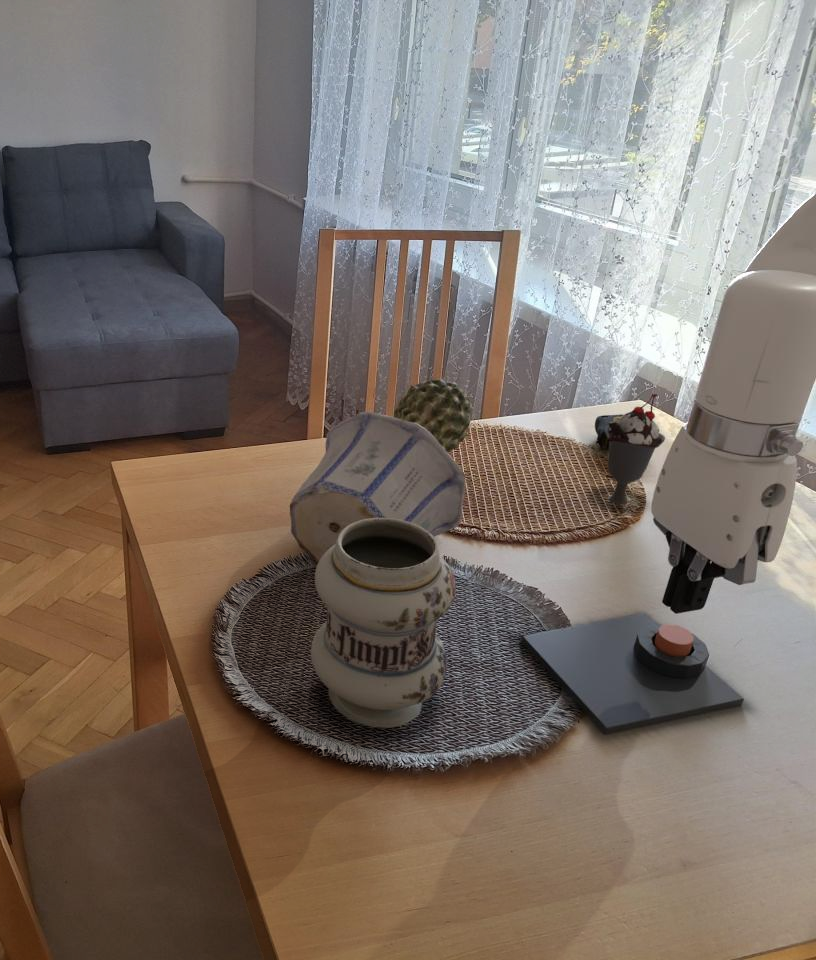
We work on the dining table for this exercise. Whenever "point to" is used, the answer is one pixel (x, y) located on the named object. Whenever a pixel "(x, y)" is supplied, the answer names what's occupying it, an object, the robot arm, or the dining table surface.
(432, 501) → the potted plant
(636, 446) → the sundae
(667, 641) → the button
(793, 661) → the dining table surface
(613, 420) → the tape measure
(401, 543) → the apothecary jar
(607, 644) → the scale
